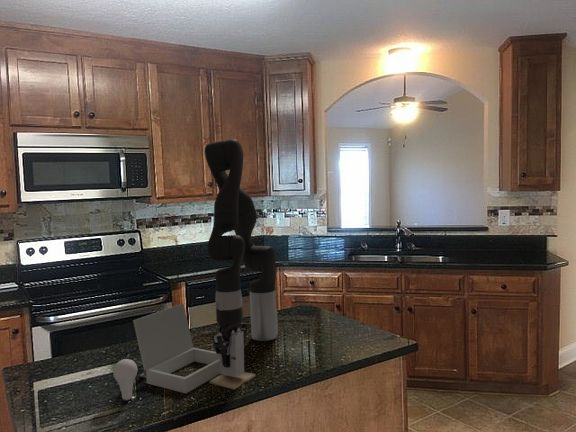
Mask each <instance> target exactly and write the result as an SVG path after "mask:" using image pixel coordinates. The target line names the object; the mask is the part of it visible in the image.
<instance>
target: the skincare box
mask: <svg viewBox="0 0 576 432" xmlns="http://www.w3.org/2000/svg"><path fill="white" fill-rule="evenodd" d="M231 339H232V346H231V347H230V353H229V354H230V364H231V366H230V367H229V368H227V367H224V366H223V364H222V354H219V358H220V374H219V375H221V374H224V375H228V376H232V377H237V376H239V375H240V374H242V373H243V372H245V351H244V350H245V349H244V348H245V347H244V345H245V344H244V332H242V331H240V332H234V334H233V335H232V338H231ZM223 341H224V340H223ZM224 343H228V342H227V341H224ZM219 349H220V348H219ZM225 350H226V346H225Z"/></svg>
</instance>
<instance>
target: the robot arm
mask: <svg viewBox="0 0 576 432" xmlns="http://www.w3.org/2000/svg"><path fill="white" fill-rule="evenodd" d="M204 156H205V159H206V164H207V166H208V168H209V171H210V173H211V174H212V177H213V179H214V182H215V183H216V185H217V188H218V190H219V192H218V193H217V195H216V198H215V200H214V205H213V225H212V230H211V233H210V237H208V238H209V239H208V242H207V246H206V253H207V256H208V258H209V259H210V260H212V261H214V262H221V261H222V262H223V261H224V262H225V261H232V263H231V265H230V266H227V267H224V268H219V269H217V270H216V271H215V274H214V278H215V279H214V281H215V297H214V298H215V300H214V301H215V315H216V322H217V324H218V325H219V326H218V327H219V328H218V333H216V335H215V334H213V335H212V336H211V339H212V344H213V346H214V349H215V352H216V353H217V354H222V364H223V366H224V367H227V368H229V367H230V366H231V364H230V354H229V353H230V347H231V346H232V339H231V338H232V335H233V334H234V332H240V331H242V332H244V345H245V344H246V341H247V333H248V327H249V326H248V323H244V322H243V320H244V311H243V309H244V308H243V294H242V288H241V269H242V263H243V265H244V266H245V269H246V270H248V271H249V272H253V273H254V272H255V273H256V272H257V273H259V272H260V273H262V274H261V275H262V276H261V277H260V278H259V279H256V280H253V281H251V282H250V283H249V288H248V289H249V302H250V303H249V306H250V307H249V308H250V325H251V326H250V329H251V339H252V340H254V341H257V342H258V341H259V342H268V341H271V340H275V339H277V338H278V335H279V329H278V328H279V323H278V322H279V321H278V320H279V318H278V309H277V301H276V298H277V296H276V281H277V280H276V279H277V274H276V273H277V256H276V255H277V254H276V251H275V248H274V247H273V246H269V245H255V244H254V242H253V239H252V234H253V231H254V229H255V226H256V223H257V220H258V214H257V210H256V207H255V204H254V201H253V199H252V197H251V195H249V194H248V192H246V190H244V189H242V187H241V182H242V175H243V174H242V173H243V169H244V168H243V167H244V152H243V146H242V145H241V142H240V141H239V140H238V139H235V138H230V139H225V140H220V141H215V142H211V143H208V144H206V146H205V147H204ZM226 171H229V172H228V174H227V172H226ZM231 232H234V235H233V234H231V235H226V233H231ZM224 234H225V235H224ZM223 340H224V341H227V342H228V343H224V341H223ZM225 346H226V350H225ZM219 348H220V349H219Z"/></svg>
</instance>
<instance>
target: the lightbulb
mask: <svg viewBox="0 0 576 432" xmlns="http://www.w3.org/2000/svg"><path fill="white" fill-rule="evenodd" d="M112 374H113V378H114V379H115V381H116V382H117V383H118V386H119V389H120V393H121V398H122V400H124V401H129V400H130V399H132V397H133V389H134V381H135V380H136V378H137V374H138V365H137V364H136V362H135V361H134V360H133V359H129V358H124V359H120V360H119V361H118V362H117V363H116V364H115V365H114V367H113V371H112Z"/></svg>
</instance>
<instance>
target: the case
mask: <svg viewBox="0 0 576 432" xmlns="http://www.w3.org/2000/svg"><path fill="white" fill-rule="evenodd" d="M194 362H195V363H201V364H206V365H205V366H203V367H201V368H200V369H197V370H196V371H194V372H192V373H190V374H188V375H186V376H181V375H177V374H172V373H174V372H177V371H178V370H180V369H182V368H184V367H186V366H188V365H190V364H192V363H194ZM219 375H221V374H220V358H219V354H217V353H216V351H212V350H207V349H202V348H198V347H193V348H192V349H189V350H187V351H185V352H183V353H181V354H179V355H177V356H174V357H172V358H170V359H168V360H166V361H164V362H161V363H159V364H157V365H155V366H153V367H151V368H149V369H146V378H145V379H146V384H149V385H152V386H156V387H160V388H163V389H168V390H171V391H175V392H178V393H183V394H188V393H189V392H191V391H193V390H194V389H196V388H198V387H200V386H202V385H203V384H205V383H207V382H209V381H211V380H212V379H214V378H216V377H218V376H219Z"/></svg>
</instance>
